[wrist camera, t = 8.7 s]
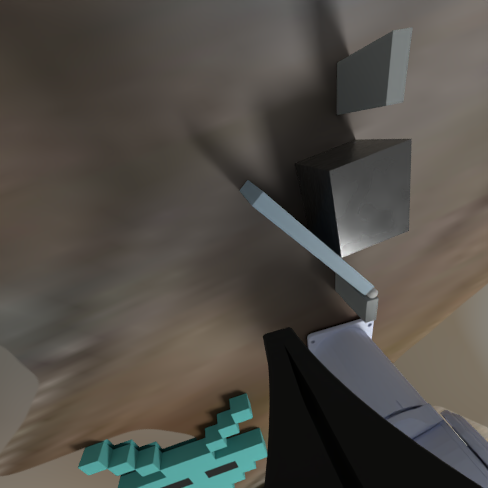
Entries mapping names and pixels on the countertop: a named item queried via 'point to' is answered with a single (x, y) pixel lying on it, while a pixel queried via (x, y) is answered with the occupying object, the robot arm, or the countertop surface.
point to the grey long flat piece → (366, 97)
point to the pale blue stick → (303, 236)
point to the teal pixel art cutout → (184, 456)
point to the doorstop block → (357, 193)
